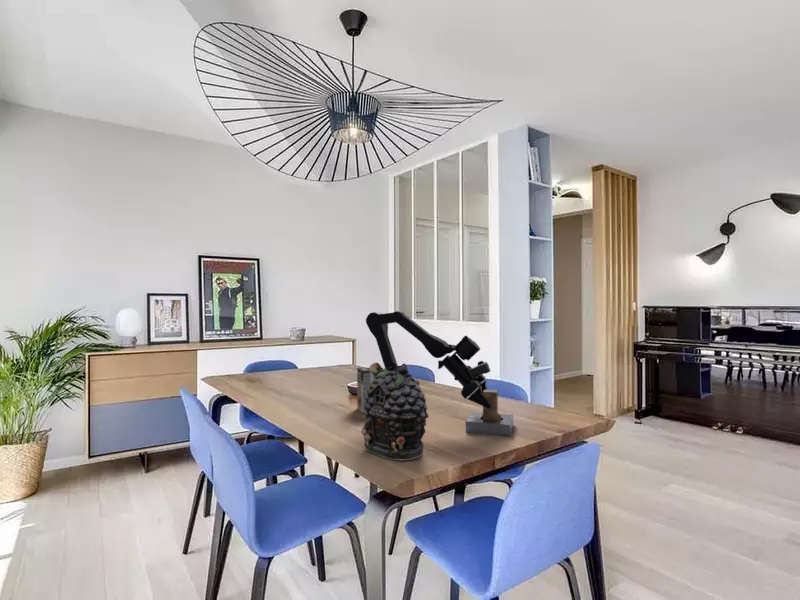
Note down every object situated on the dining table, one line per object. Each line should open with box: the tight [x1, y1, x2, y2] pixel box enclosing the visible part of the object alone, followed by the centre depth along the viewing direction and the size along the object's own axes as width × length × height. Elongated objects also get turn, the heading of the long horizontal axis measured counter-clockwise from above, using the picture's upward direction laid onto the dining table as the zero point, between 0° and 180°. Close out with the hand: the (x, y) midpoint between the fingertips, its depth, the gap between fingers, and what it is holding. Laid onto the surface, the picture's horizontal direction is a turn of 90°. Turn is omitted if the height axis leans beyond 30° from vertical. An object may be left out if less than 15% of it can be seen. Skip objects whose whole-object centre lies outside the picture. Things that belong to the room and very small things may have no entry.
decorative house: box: [360, 362, 430, 461], centre depth 125 cm, size 21×15×25 cm
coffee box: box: [356, 367, 371, 414], centre depth 174 cm, size 9×6×16 cm
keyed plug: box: [482, 389, 502, 421], centre depth 149 cm, size 6×4×12 cm
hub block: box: [465, 411, 514, 437], centre depth 149 cm, size 14×14×4 cm
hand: (491, 404), depth 149 cm, fingers open, 9 cm apart
